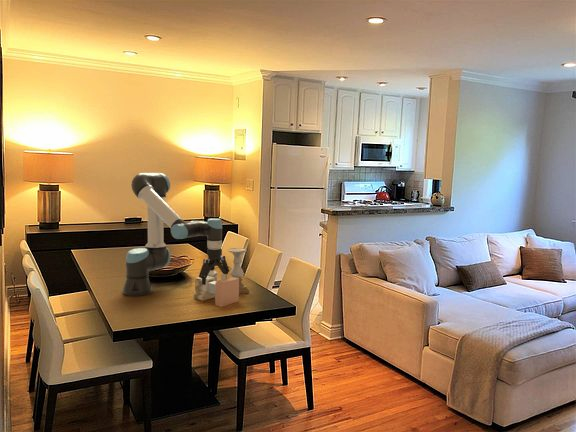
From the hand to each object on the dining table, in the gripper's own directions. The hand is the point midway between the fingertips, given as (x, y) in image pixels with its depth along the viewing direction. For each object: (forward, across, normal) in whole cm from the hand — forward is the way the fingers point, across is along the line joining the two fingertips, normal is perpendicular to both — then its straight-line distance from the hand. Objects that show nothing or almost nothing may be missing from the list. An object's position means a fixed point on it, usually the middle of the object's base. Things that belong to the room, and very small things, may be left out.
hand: (214, 288), depth 259 cm
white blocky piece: (+6, 0, +7) cm, 9 cm away
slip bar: (+2, 0, +2) cm, 3 cm away
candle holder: (+6, +20, +2) cm, 21 cm away
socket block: (+6, 0, -10) cm, 11 cm away
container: (+6, +19, +23) cm, 31 cm away
